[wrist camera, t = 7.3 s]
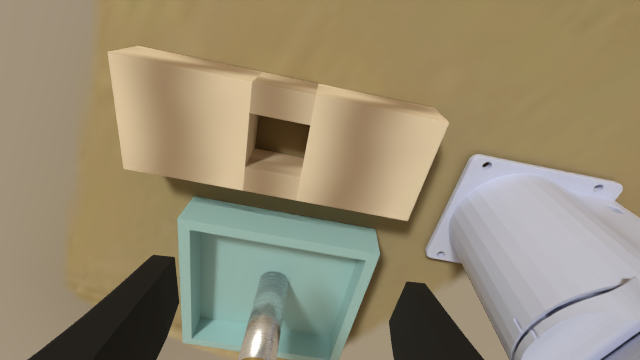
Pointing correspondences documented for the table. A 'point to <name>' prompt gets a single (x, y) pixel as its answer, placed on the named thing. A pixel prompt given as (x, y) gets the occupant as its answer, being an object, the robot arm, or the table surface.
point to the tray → (263, 256)
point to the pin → (265, 318)
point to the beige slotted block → (241, 131)
